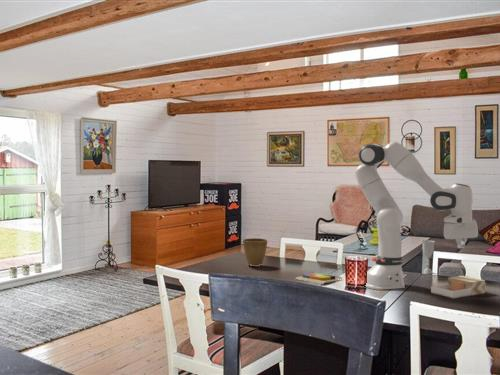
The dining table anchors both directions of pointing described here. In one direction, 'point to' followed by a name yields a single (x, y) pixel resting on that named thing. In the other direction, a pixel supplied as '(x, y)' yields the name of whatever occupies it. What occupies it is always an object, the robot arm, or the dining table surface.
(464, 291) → the box
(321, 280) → the wooden puzzle
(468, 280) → the bench plate
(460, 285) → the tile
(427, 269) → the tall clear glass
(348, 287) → the dining table surface
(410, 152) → the robot arm
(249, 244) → the plant pot
